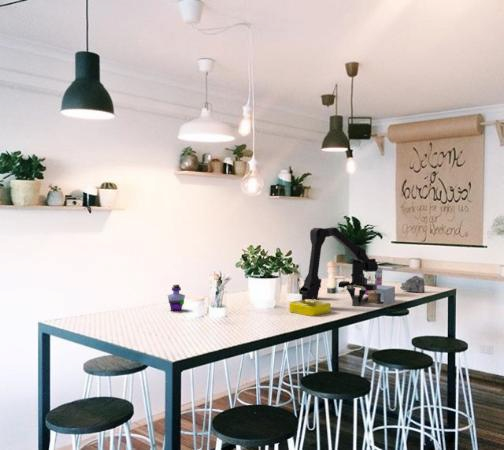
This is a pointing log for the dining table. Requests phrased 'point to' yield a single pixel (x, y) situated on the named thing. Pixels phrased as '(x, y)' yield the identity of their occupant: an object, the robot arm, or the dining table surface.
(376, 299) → the cube
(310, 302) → the element tile
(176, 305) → the potion bottle
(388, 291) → the cubby
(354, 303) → the hook tool
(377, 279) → the candy bar box
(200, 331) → the dining table surface
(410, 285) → the mineral rock
